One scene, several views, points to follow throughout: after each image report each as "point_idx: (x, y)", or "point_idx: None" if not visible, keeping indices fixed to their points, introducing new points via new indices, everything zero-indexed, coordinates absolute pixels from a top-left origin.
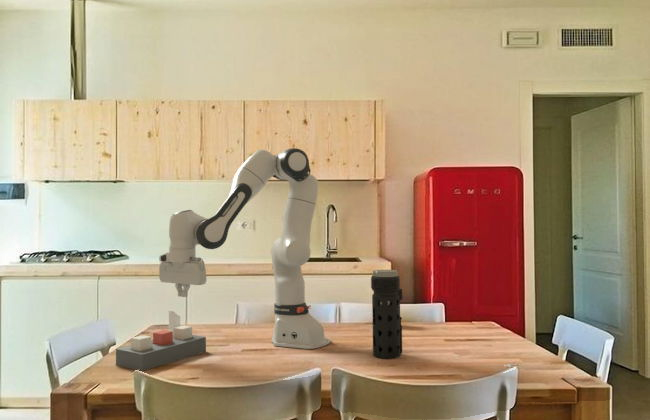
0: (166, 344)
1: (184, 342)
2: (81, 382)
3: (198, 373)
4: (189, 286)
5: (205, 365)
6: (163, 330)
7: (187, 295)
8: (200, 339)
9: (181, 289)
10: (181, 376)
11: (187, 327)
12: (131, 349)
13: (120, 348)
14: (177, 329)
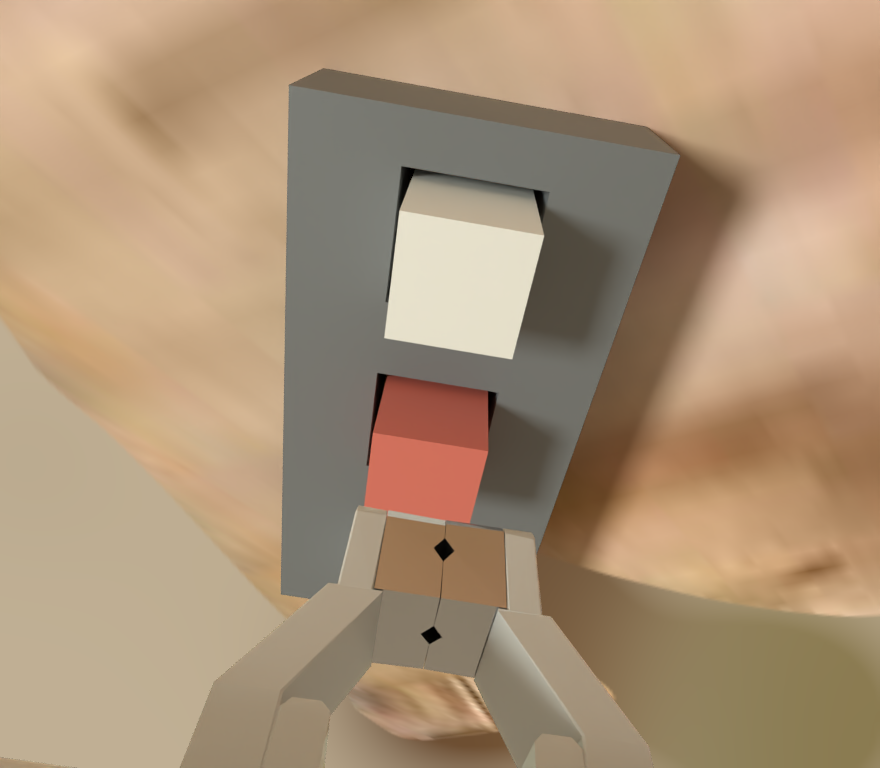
0: (491, 459)
1: (588, 383)
2: (386, 682)
3: (812, 521)
4: (643, 764)
5: (798, 414)
6: (381, 443)
7: (533, 537)
8: (651, 223)
9: (353, 642)
10: (742, 567)
11: (514, 279)
12: None
13: (296, 584)
14: (443, 341)
